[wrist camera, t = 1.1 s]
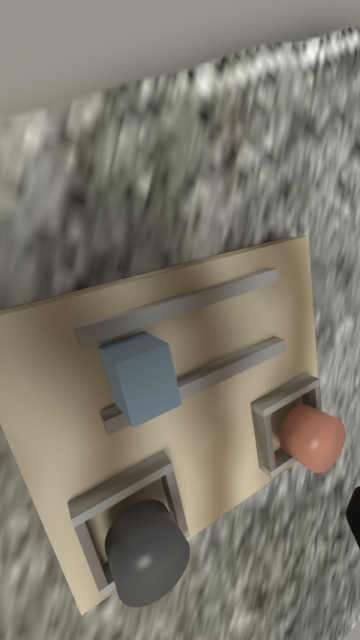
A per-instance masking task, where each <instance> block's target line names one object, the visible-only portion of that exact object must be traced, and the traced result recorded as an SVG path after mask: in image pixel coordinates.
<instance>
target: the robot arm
mask: <svg viewBox="0 0 360 640" xmlns="http://www.w3.org/2000/svg"><path fill="white" fill-rule="evenodd" d="M346 518H347V521H348V524H349V526H350V528H351V531H352V533H353V535H354V537H355V540H356V542H357V544H358V546H359V549H360V486H359V487H357V488H355V490H354V492H353V494H352V497H351V499H350V502H349V504H348V506H347V509H346Z"/></svg>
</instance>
